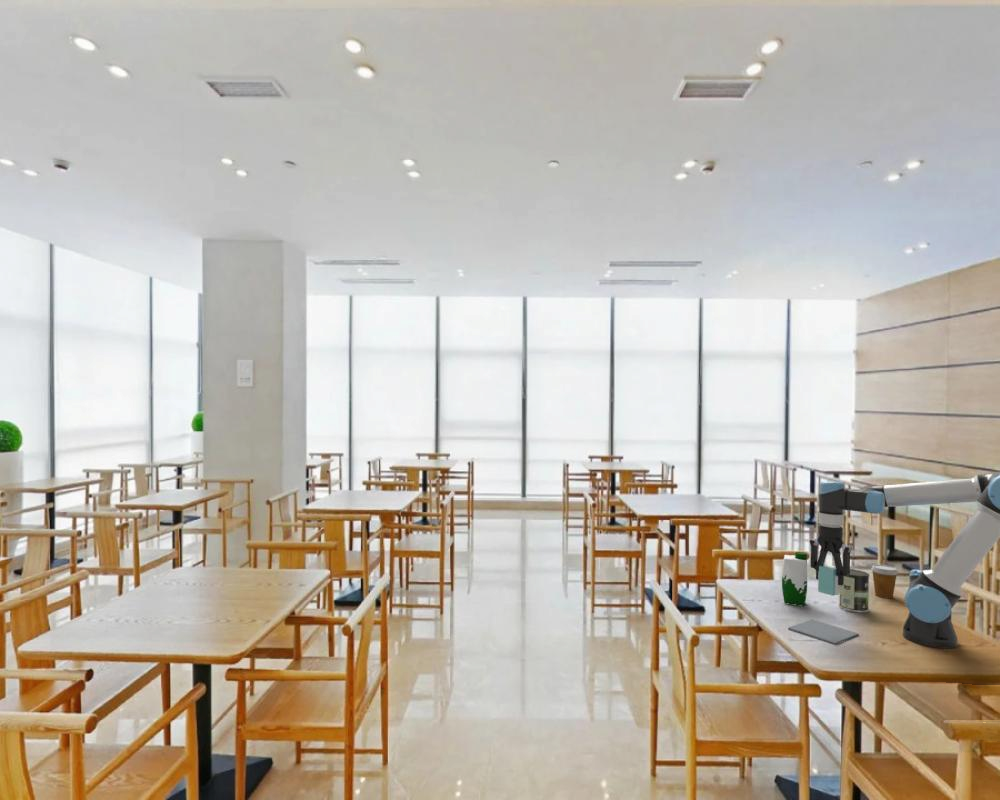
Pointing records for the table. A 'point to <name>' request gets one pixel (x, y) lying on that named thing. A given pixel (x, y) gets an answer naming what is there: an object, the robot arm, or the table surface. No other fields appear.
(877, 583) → the disposable coffee cup
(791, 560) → the milk carton
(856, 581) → the coffee can
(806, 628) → the mat
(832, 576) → the block
